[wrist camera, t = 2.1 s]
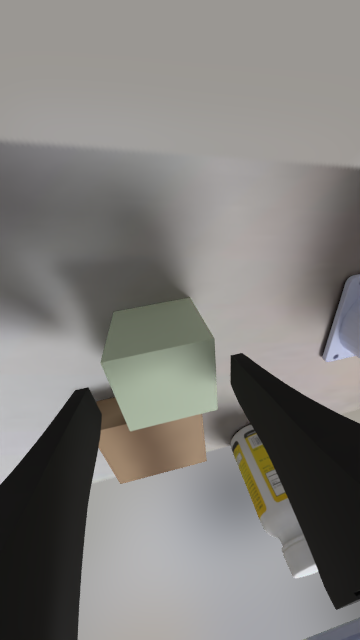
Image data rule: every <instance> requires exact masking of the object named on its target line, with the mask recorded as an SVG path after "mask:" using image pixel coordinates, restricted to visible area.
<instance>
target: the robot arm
mask: <svg viewBox="0 0 360 640" xmlns="http://www.w3.org/2000/svg"><path fill="white" fill-rule="evenodd" d="M352 356H357V357H359V358H360V274H357V275H353V276H351V277H349V278H348V279H347V281H346V283H345V286H344V289H343V293H342V296H341V299H340V302H339V306H338V309H337V312H336V315H335V318H334V322H333V325H332V328H331V331H330V334H329V338H328V341H327V344H326V347H325V351H324V354H323V360H325V361H326V362H331V361H335V360H339V359H344V358H348V357H352ZM231 386H232V388H233V391H234V393H235V395H236V398H237V400H238V402H239V404H240V406H241V407H242V409H243V411H244V413H245V414H246V416H247V418H248V420H249V421H250V423H251V425H252V427H253V428H254V430H255V432H256V434H257V435H258V437H259V439H260V441H261V442H262V444H263V446H264V448H265V450H266V452H267V454H268V456H269V458H270V460H271V462H272V464H273V466H274V469H275V471H276V473H277V475H278V477H279V479H280V482H281V484H282V486H283V488H284V491H285V493H286V495H287V497H288V499H289V502H290V504H291V506H292V509H293V511H294V513H295V516H296V518H297V520H298V523H299V525H300V527H301V530H302V532H303V534H304V537H305V539H306V542H307V544H308V547H309V549H310V552H311V554H312V557H313V559H314V562H315V564H316V566H317V569H318V571H319V574H320V577H321V579H322V582H323V584H324V587H325V589H326V591H327V593H328V595H329V597H330V599H331V601H332V603H333V605H334V607H335V608H336V610H337V609H340V608H343V607H345V606H348V605H350V604H353V603H356V602H358V601H360V424H359V423H357V422H355V421H353V420H351V419H349V418H347V417H344V416H342V415H340V414H338V413H336V412H334V411H332V410H330V409H328V408H327V407H325V406H323V405H321V404H319V403H317V402H315V401H314V400H312V399H310V398H308V397H306V396H305V395H303V394H301V393H300V392H298V391H296V390H295V389H293V388H292V387H290V386H288V385H287V384H285V383H284V382H282V381H281V380H279V379H278V378H276V377H275V376H273V375H272V374H270V373H269V372H268V371H266V370H265V369H263V368H262V367H261V366H259V365H258V364H256V363H255V362H254V361H252V360H251V359H250V358H248V357H247V356H245V355H244V354H243V353H240V354H235V355H231ZM101 422H102V413H101V411H100V409H99V407H98V405H97V403H96V401H95V400H94V398H93V396H92V394H91V392H90V390H89V388H84V389H79V390H75V391H74V393H73V394H72V395H71V397H70V398H69V399H68V401H67V402H66V404H65V405H64V406H63V408H62V409H61V410H60V412H59V413H58V414H57V416H56V417H55V418H54V420H53V421H52V422H51V424H50V425H49V426H48V428H47V429H46V430H45V432H44V433H43V434H42V436H41V437H40V438H39V439H38V441H37V442H36V443H35V444H34V446H33V447H32V448H31V449H30V451H29V452H28V453H27V454H26V455H25V457H24V458H23V459H22V460H21V462H20V463H19V464H18V465H17V466H16V468H15V469H14V470H13V471H12V472H11V473H10V474H9V476H8V477H7V478H6V479H5V480H4V481H3V482H2V483H1V485H0V640H77V637H78V616H79V598H80V583H81V570H82V558H83V546H84V536H85V526H86V517H87V507H88V500H89V494H90V488H91V483H92V478H93V473H94V468H95V463H96V457H97V452H98V447H99V441H100V435H101ZM303 640H360V618H358V619H355V620H352V621H350V622H347V623H345V624H342V625H339V626H337V627H334V628H332V629H329V630H327V631H324V632H321V633H319V634H316V635H314V636H311V637H309V638H306V639H303Z"/></svg>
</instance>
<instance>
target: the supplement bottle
mask: <svg viewBox="0 0 360 640" xmlns="http://www.w3.org/2000/svg"><path fill="white" fill-rule="evenodd" d="M231 449H232V451H233V453H234V456H235V459H236V462H237V464H238V466H239V469H240V471H241V474H242V477H243V479H244V481H245V484H246V486H247V489H248V491H249V494H250V496H251V499H252V502H253V504H254V507H255V509H256V512H257V514H258V517H259V519H260V521H261V523H262V526H263V528H264V530H265V531H266V532H267V533H268V534H269V535H271V536H273V537H276V538H279V539H280V541H281V543H282V545H283V548H282V552H283V553H284V558H285V560H286V562H287V565H288V567H289V569H290V571H291V574H292V576H293V577H294V578H301V577H304V576H308V575H311V574H314V573H316V572H319V571H318V569H317V566H316V564H315V562H314V559H313V557H312V554H311V552H310V549H309V547H308V544H307V542H306V539H305V537H304V534H303V532H302V530H301V527H300V525H299V523H298V520H297V518H296V516H295V513H294V511H293V509H292V506H291V504H290V502H289V499H288V497H287V495H286V493H285V491H284V488H283V486H282V484H281V482H280V479H279V477H278V475H277V473H276V471H275V469H274V466H273V464H272V462H271V460H270V458H269V456H268V454H267V452H266V450H265V448H264V446H263V444H262V442H261V441H260V439H259V437H258V435H257V434H256V432H255V430H254V428H253V427H252V425H248V426H246V427H244V428H242V429H241V430H240V431H238V432H237V433H236V434H235V435H234V437H233V438H232V440H231Z"/></svg>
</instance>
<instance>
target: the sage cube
mask: <svg viewBox="0 0 360 640" xmlns="http://www.w3.org/2000/svg"><path fill="white" fill-rule="evenodd" d="M101 365H102V367H103V370H104V372H105V374H106V377H107V379H108V381H109V384H110V386H111V388H112V391H113V393H114V395H115V398H116V400H117V402H118V405H119V407H120V409H121V412H122V414H123V416H124V419H125V421H126V423H127V426H128V428H129V430H130V431H134V430H138V429H142V428H146V427H150V426H154V425H158V424H162V423H166V422H170V421H174V420H178V419H182V418H186V417H190V416H194V415H198V414H203V413H207V412H211V411H215V410H218V408H217V386H216V363H215V341H214V337H213V335H212V334H211V332H210V330H209V329H208V327H207V325H206V324H205V322H204V320H203V319H202V317H201V315H200V314H199V312H198V310H197V308H196V307H195V305H194V303H193V302H192V300H191V298H184V299H179V300H174V301H168V302H163V303H158V304H152V305H147V306H142V307H136V308H131V309H126V310H120V311H115V312H113V316H112V320H111V324H110V328H109V332H108V336H107V339H106V343H105V347H104V351H103V355H102V359H101Z"/></svg>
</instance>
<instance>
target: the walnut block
mask: <svg viewBox="0 0 360 640" xmlns="http://www.w3.org/2000/svg"><path fill="white" fill-rule="evenodd" d="M97 405H98V407H99V409H100V411H101V413H102V422H101V435H100V441H99V449H100V451H101V452H102V454H103V456H104V457H105V459H106V461H107V462H108V464H109V466H110V467H111V469H112V471H113V472H114V474H115V476H116V477H117V479H118V481H119V482H120V484H122V483H126V482H130V481H134V480H137V479H141V478H145V477H148V476H153V475H156V474H160V473H164V472H168V471H171V470H175V469H179V468H183V467H186V466H190V465H194V464H197V463H201V462H205V461H207V460H206V450H205V440H204V429H203V419H202V414H198V415H194V416H190V417H186V418H182V419H178V420H174V421H170V422H166V423H162V424H158V425H154V426H150V427H146V428H142V429H138V430H134V431H130V430H129V428H128V426H127V423H126V421H125V419H124V416H123V414H122V412H121V409H120V407H119V405H118V402H117V400H116V398H115V397H114V398H109V399H105V400H100V401H97Z"/></svg>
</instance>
